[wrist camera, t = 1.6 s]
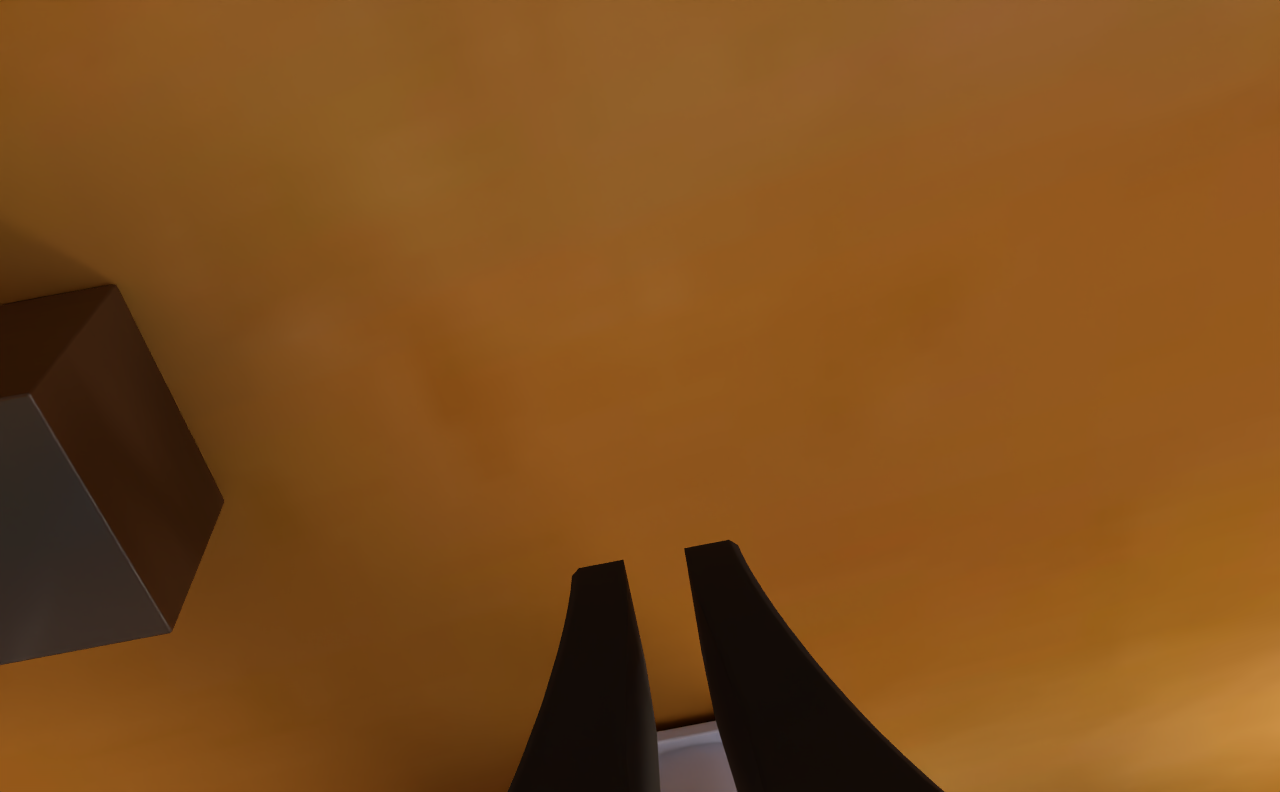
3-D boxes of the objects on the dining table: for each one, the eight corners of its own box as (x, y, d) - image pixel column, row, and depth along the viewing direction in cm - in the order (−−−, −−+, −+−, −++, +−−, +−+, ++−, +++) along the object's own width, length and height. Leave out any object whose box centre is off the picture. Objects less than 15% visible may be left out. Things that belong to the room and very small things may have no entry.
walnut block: (225, 501, 22) (172, 634, 18) (-18, 546, 22) (-116, 687, 18) (116, 282, 19) (29, 393, 15) (-167, 335, 19) (-316, 457, 15)
